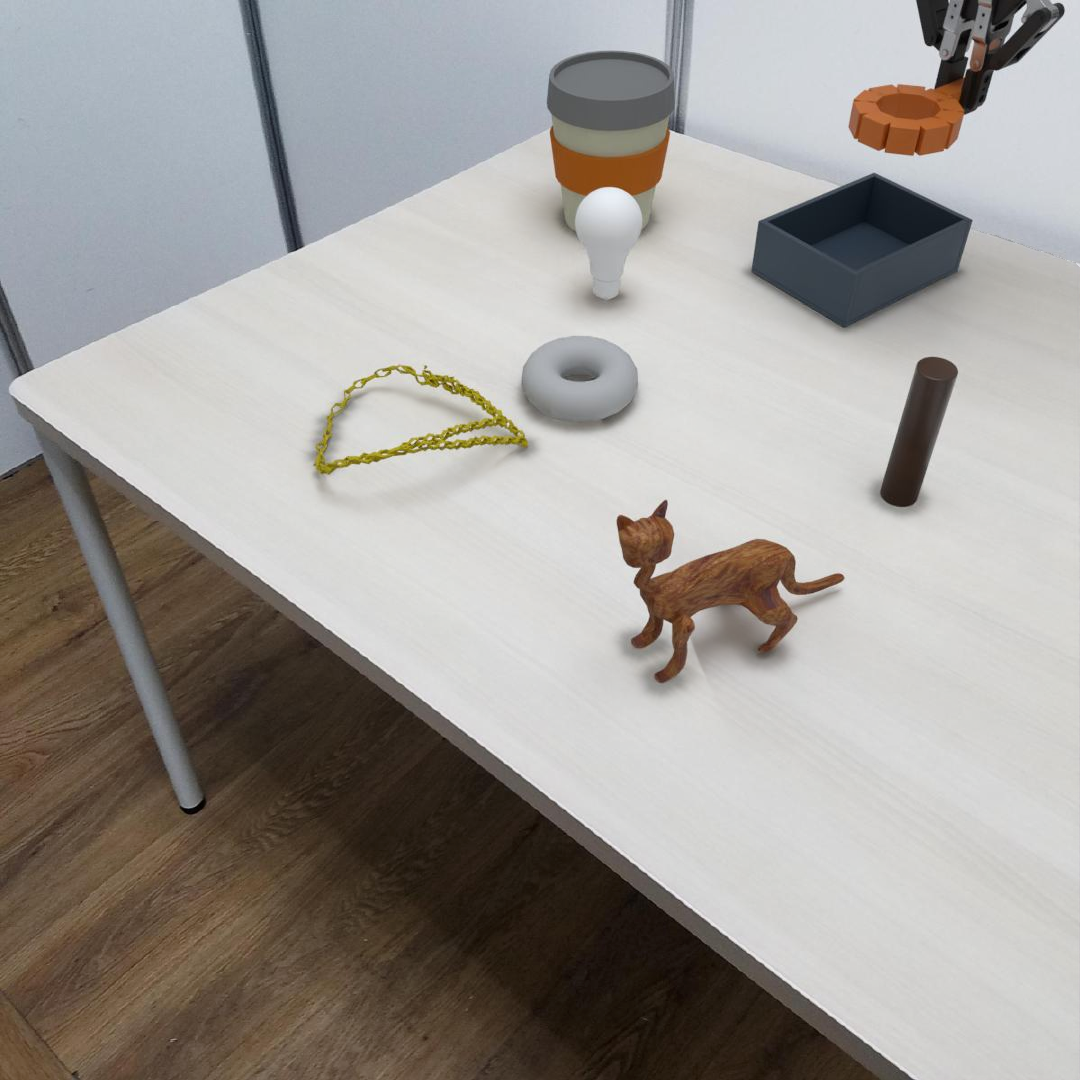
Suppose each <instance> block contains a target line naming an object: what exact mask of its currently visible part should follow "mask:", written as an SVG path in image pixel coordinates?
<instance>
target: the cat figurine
mask: <svg viewBox="0 0 1080 1080" xmlns="http://www.w3.org/2000/svg"><path fill="white" fill-rule="evenodd" d="M668 505H669V503H668V500H667V499H664V500H663V501H661V503H660V504H659V505H658V506H657V507H656V508H655V509H654V511H653V512H652V514H651V515H650V516H648V517H640V518H639V519H637V520H632V519H631V518H630V517H628V516H627V515H624V514H619V515H618V516H617V518H616V528H617V533H618V540H619V544H620V549H621V553H622V559H623V560H624V562H625V564H626V565H627V566H628V567H630V568H632V569H639V570H638V571H637V572H636V574H635V576H634V579H633V582H632V583H633V584H634V586H635V587H636V588H637V589H638V590H639V596H640V598H641V599H642V600H643V602H644V604H645V606H646V608H647V611H648V615H649V616H648V620H647V622H646V624H645V626H644V627H643V628H642V630H641V632H640V633H638V634H637V635H635V636H634V637H631V639H630V643H631V645H632V647H634V648H635V649H644V648H646V647H648V646H650V645H651V644H653V643H654V642H655V641H657V639H658V638H659V637H660V636H661V634H662V631H663V628H664V621H665V622H668V623H670V624H671V634H672V635H671V643H672V648H673V653H672V656H671V657H670V659H669V661H668V662H667V664H666V665H665V667H664V668H662V669H661V670H659V671H656V672H655V673H654V674H653V676H654V680H655V681H656V682H657V683H660V684H665V683H666V682H668V681H670V680H672V679H673V678H675V677H676V676H678V675H679V674H680V672H682V670H683V669H684V667H685V665H686V662H687V657H688V641H689V639H690V637H691V636H692V634H693V632H694V631H695V630H696V625H695V622H694V620H693V618H692V617H693V616H694V615H696V614H697V613H698V612H701V611H705V610H708V609H712V608H716V607H723V606H724V607H725V606H741V607H743V608H745V609H746V610H748V611H749V612H750V613H751V614H753V616H755V617H756V618H757V619H758V620H759V621H760V622H761V623H763V624H765V625H770V626H773V627H775V628H774V629H773V630H772V632H771V633H770V635H769V637H768V639H767V641H766V642H764V643H761V644H760V645H759V646H758V647H757V650H756V651H757V652H758V653H767V652H770V651H772V650H774V649H775V648H776V646H777V645H779V643H780V642H781V641H782V640H783V639H784V638H785V637H786V636H787V635H788V634H789V632H790V631H792V629H793V628H794V626H795V625H796V624H797V622H798V616H797V615H796V614H795V613H794V612H793V611H792V610H791V607H790V606H789V605H788V603H787V602H786V601H785V600H784V599H783V598H782V597H781V594H780V592H779V589H778V585H779V583H781V586H782V587H784V589H785V590H786V591H787V592H788V593H790V594H791V595H795V596H806V595H812V594H814V593H818V592H821V591H824V590H826V589H828V588H831V587H834V586H836V585H838V584H840V583H842V582H843V581H844V580H845V578H846V577H845V576H844V574H843V573H839V572H838V573H833V574H830V575H826V576H824V577H821V578H818V579H815V580H812V581H806V582H799V581H797V580H796V575H795V573H796V572H795V571H796V564H797V561H796V557H795V555H794V554H793V553H792V552H791V550H790V549H788V548H787V547H786V546H784V545H782V544H780V543H777V542H775V541H772V540H768V539H765V538H755V539H750V540H748V541H745V542H744V543H741V544H738V545H736V546H734V547H731V548H728V549H725V550H721V551H718V552H717V551H716V552H714V553H711V554H706V555H704V556H702V557H698V558H695V559H693V560H691V561H689V562H686V563H685V564H683V565H681V566H679V567H677V568H676V569H673V570H672V571H668V572H665V573H661V574H659V575H656V576H653V575H654V573H655V571H656V568H657V564H660V563H662V562H664V561H665V560H667V559H669V558H670V556H671V554H672V548H673V543H674V537H675V531H674V527H673V525H672V523H671V522H670V521H669V520H668V519H667V517H666V515H667V510H668V507H669V506H668Z"/></svg>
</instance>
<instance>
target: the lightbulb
mask: <svg viewBox="0 0 1080 1080" xmlns="http://www.w3.org/2000/svg"><path fill="white" fill-rule="evenodd" d="M575 228H576V232H575V233H576V236H577V238H578V240H579V242H580V244H581V245H582V247H583V249H584V250H585V252H586V255H587V257H588V261H589V271H590V275H591V277H592V292H593V294H594V295H595V296H596V297H597V298H600V299H602V300H605V301H609V300H611V299H613V298H615V297H617V296H618V295H619V294H620V289H621V281H622V276H623V275H624V272H625V264H626V261H627V258H628V256H629V254H630V252H631V250H632V249H633V248H634V246H635V245H636V243H637V242H638V240H639V237H640V236H641V232H642V230H641V229H642V214H641V210H640V207H639V205H638V203H637V202H636V200H635V199H634V198H633V197H632V196H631V195H630V194H629V193H627V192H625V191H624V190H622V189H619V188H614V187H604V188H600V189H597V190H595V191H593V192H591V193H590V194H588V195H587V196H586V197H585V198H584V199H583V201H582V202H581V203H580V205H579V207H578V209H577V213H576V217H575Z"/></svg>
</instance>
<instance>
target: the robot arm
mask: <svg viewBox="0 0 1080 1080" xmlns="http://www.w3.org/2000/svg"><path fill="white" fill-rule="evenodd" d="M915 2H916V7H917V11H918V17H919V21H920V28H921V31H922V37H923V42H924V45H926V46H927V47H929V48H930V47H933V48H935V49H936V51H938V56H939V58H940V63H939V67H938V71H937V75H936V80H935V84H934V88H933V89H936V88H939V87H941V86H944V85H946V84H949V83H951V82H954V81H956V80H959V79H961V78H964V81H963V85H962V89H961V90H962V92H961V96H960V100H959V104H960V105H961V106H962V108H963V109H964V116H967V115H968V114H970V113H973V112H975V111H977V109H978V108H980V107H982V106H983V105H984V103H985V102H986V100H987V96H988V92H989V89H990V85H991V81H992V78H993V75H994V72H996V71H1000V70H1002V69H1005V68H1007V67H1010V66H1012V65H1015V64H1018V63H1019V62H1020V61H1021V60H1022V59H1023V58H1024V57H1025V56H1026V55H1027V54H1028V53H1029V52H1030V51H1031V50H1032V49H1033V48H1034V46H1036V45H1037V44H1038V43H1039V42H1040V40H1041V39H1043V37H1044V36H1045V35H1047V33H1048V32H1049V31H1050V30H1051V29H1052V28H1053V27H1055V25H1056V24H1057V23H1058V22H1059V21H1060V20H1061V19H1062V18H1063V17H1064V15H1065V12H1066V9H1065V6H1064V4H1063V3H1061V2H1055V3H1052V2H1051V0H915ZM1025 6H1026V8H1025V11H1024V12H1023V14H1022V17H1021V18H1020V23H1022V24H1021V26H1019V28H1018V29H1017V30H1016V31H1015V32H1014V33H1013V34H1012V35H1011V36H1010V37H1009V38H1008V39H1007V37H1008V35H1010V32H1011V31H1012V26H1013V23H1014V18H1015V15H1016V14H1017V13H1018V12H1019V11H1020V10H1021V9H1023V7H1025ZM1006 39H1007V40H1006ZM972 41H973V46H972V50H971V55H970V60H969V57H968V56H965V55H966V54H967V53H968V52H969V50H970V47H971V44H972ZM968 62H969V68H967V66H968Z"/></svg>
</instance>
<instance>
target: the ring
mask: <svg viewBox="0 0 1080 1080" xmlns="http://www.w3.org/2000/svg"><path fill="white" fill-rule="evenodd" d="M963 81H964V77H963V78H961V79H959V80H956V81H954V82H951V83H949V84H946V85H944V86H941V87H939V88H936V89H934V88H933V87H931V88H928V89H926V86H924V85H923V86H922V85H914V84H913V85H911V84H902V83H897V85H893V84H885V85H880V86H874V87H869V88H868V89H863V91H861V92H860V93H859V94H858V95H857V96H856V97H854V98H853V101H852V104H851V105H852V106H851V111H850V115H849V120H848V121H849V122H848V126H847V127H848V129H849V131H850V134H851V135H852V137H853V139H854V140H857V142H858V143H860V144H863V145H865V146H867V147H868V148H871V149H873V150H875V151H877V152H880V151H882V150H884V153H885V154H891V155H902V156H909V157H914V156H915V154H916V155H918V157H921V156H925V155H931V154H936V153H942V152H944V151H945V150H949V149H950V148H951V146H952V145H953V144H954V143H955V142H956V141H958V138H959V135H960V132H961V127H962V124H963V120H964V116H965V115H964V109H963V108H962V106H961V105H960V104H959V100H960V96H961V92H962V90H961V89H962V85H963Z"/></svg>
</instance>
